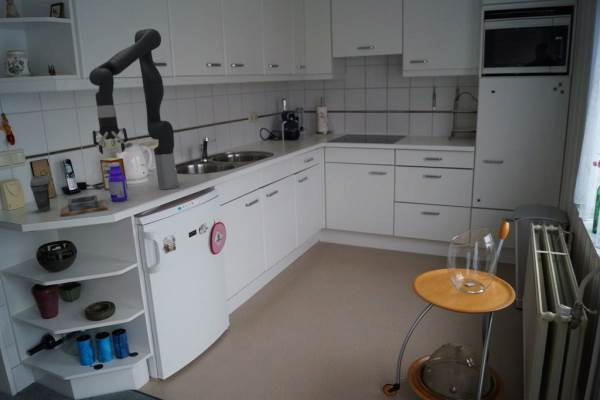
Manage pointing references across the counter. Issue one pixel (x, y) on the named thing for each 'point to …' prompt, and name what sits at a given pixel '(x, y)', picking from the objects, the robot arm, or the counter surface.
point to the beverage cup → (41, 192)
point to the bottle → (117, 183)
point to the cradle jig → (83, 206)
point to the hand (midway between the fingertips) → (112, 152)
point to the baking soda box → (106, 169)
